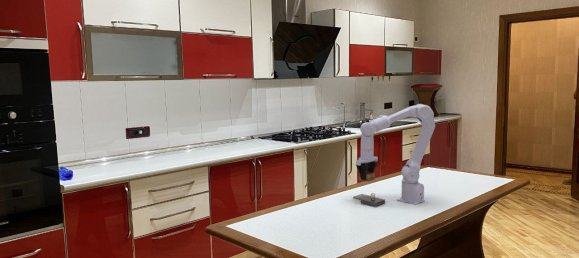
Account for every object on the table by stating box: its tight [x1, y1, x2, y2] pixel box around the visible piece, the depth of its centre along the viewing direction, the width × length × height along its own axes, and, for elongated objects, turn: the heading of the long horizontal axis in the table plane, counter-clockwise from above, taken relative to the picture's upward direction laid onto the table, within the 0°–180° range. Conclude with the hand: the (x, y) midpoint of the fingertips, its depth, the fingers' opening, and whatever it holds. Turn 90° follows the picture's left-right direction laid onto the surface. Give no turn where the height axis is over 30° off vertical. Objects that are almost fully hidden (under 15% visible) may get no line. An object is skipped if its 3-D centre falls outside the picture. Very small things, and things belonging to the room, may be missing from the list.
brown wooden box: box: [358, 172, 376, 182], centre depth 195 cm, size 5×5×3 cm
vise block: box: [360, 192, 386, 208], centre depth 190 cm, size 8×7×4 cm
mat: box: [352, 193, 370, 201], centre depth 200 cm, size 7×7×1 cm
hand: (366, 178), depth 195 cm, fingers closed on brown wooden box, 5 cm apart
